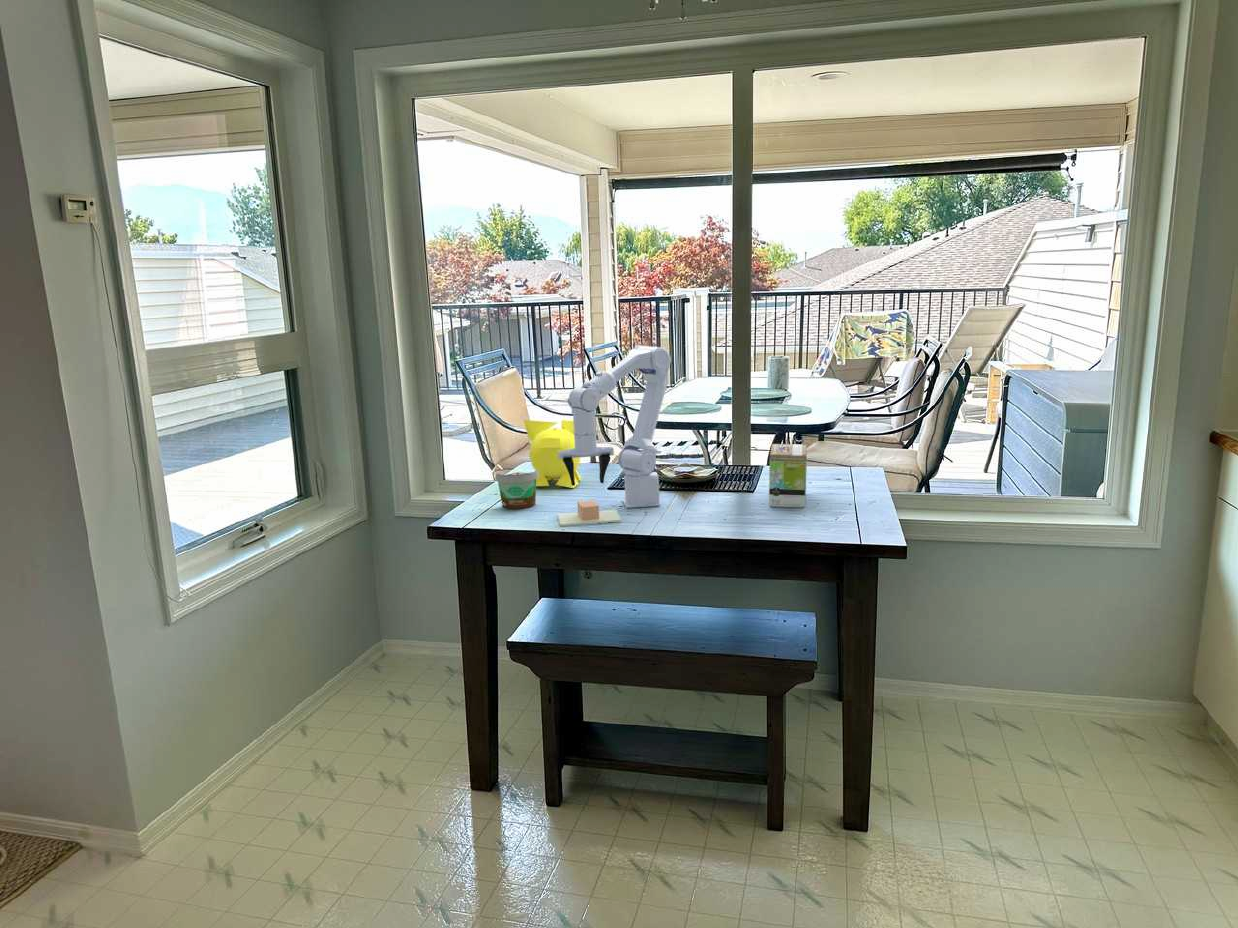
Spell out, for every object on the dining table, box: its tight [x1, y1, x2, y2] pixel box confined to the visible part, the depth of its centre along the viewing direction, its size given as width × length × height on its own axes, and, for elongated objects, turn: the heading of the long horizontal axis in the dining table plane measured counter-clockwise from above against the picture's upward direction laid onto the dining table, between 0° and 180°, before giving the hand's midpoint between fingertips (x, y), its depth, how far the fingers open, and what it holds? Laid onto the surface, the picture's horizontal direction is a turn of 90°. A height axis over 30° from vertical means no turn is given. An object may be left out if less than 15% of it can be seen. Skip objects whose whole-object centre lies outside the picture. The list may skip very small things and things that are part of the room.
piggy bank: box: [523, 419, 582, 489], centre depth 271 cm, size 20×20×19 cm
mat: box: [557, 509, 622, 528], centre depth 233 cm, size 16×10×1 cm, turn 97°
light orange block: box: [577, 499, 600, 520], centre depth 233 cm, size 6×4×4 cm
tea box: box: [768, 443, 808, 508], centre depth 242 cm, size 15×10×15 cm, turn 168°
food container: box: [494, 469, 539, 511], centre depth 245 cm, size 12×6×10 cm, turn 101°
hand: (587, 483), depth 232 cm, fingers open, 7 cm apart
